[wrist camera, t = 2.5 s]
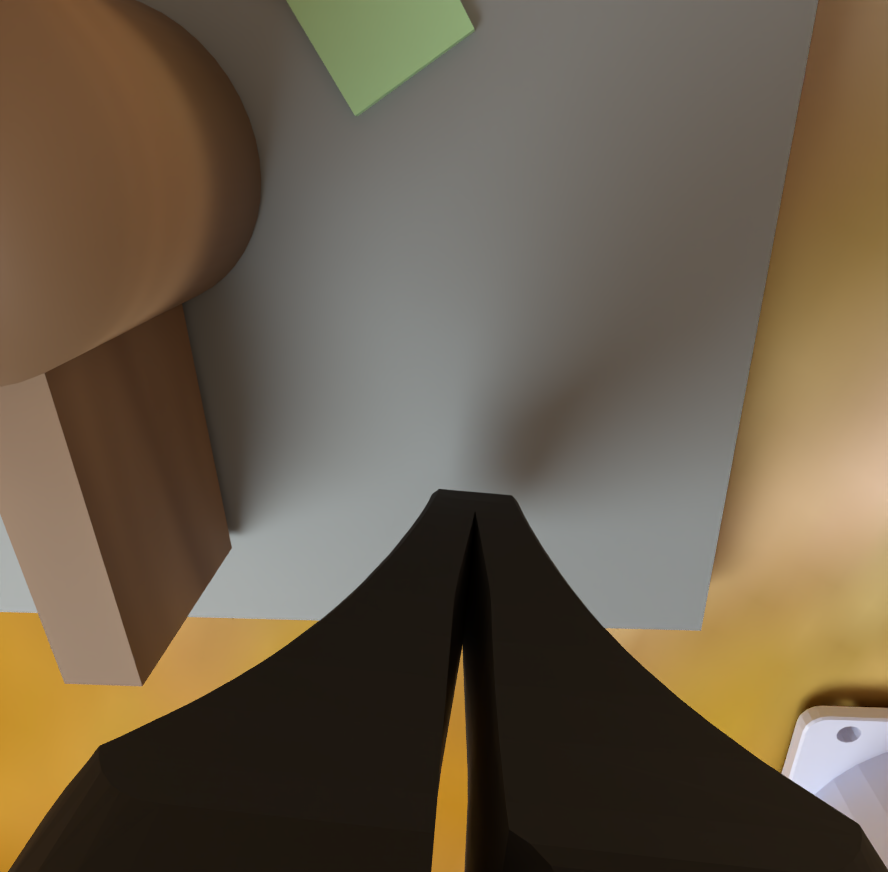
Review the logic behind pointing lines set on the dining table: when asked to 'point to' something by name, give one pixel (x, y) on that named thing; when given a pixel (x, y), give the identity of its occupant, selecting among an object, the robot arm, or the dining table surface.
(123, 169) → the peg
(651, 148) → the grey board
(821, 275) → the dining table surface
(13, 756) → the dining table surface
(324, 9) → the pale green tile
